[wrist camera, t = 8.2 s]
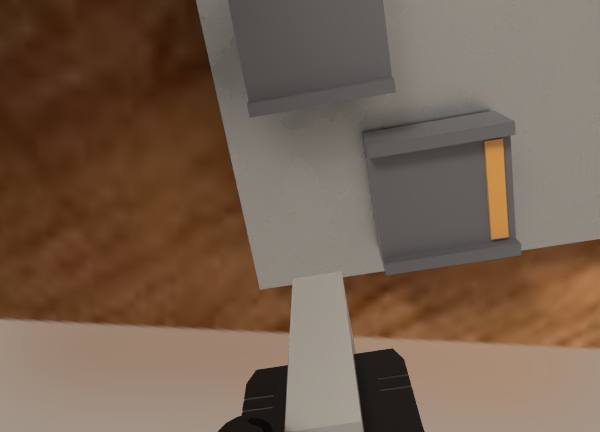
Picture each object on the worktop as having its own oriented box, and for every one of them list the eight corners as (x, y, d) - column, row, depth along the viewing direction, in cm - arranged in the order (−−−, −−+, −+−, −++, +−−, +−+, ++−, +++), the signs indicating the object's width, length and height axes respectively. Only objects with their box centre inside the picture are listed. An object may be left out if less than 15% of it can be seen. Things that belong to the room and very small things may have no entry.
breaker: (256, 107, 27) (249, 117, 25) (227, -34, 25) (217, -41, 23) (387, 84, 27) (395, 92, 24) (369, -62, 25) (376, -72, 22)
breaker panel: (262, 273, 33) (258, 298, 30) (194, -41, 27) (180, -48, 25) (710, 206, 31) (750, 225, 28) (733, -148, 25) (786, -168, 23)
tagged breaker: (379, 251, 30) (385, 275, 27) (362, 132, 28) (367, 145, 25) (502, 232, 29) (521, 255, 27) (494, 110, 27) (515, 121, 24)
